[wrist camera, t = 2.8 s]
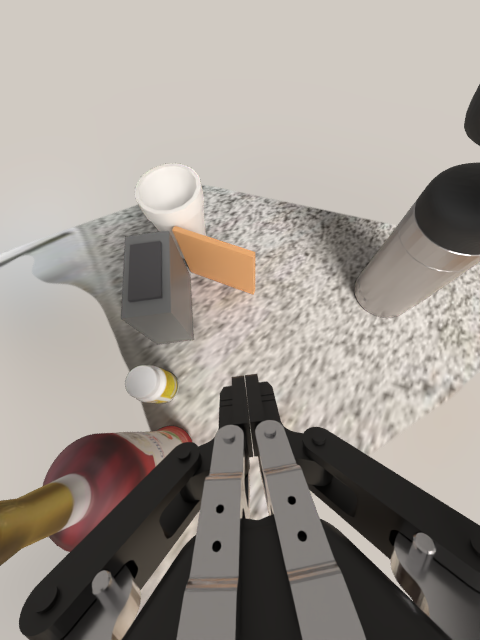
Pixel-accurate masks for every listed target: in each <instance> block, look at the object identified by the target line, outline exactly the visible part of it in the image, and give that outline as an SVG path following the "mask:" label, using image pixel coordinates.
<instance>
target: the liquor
mask: <svg viewBox="0 0 480 640" xmlns="http://www.w3.org/2000/svg"><path fill="white" fill-rule="evenodd" d="M185 442H192V440H191V438H190V437H189V435H188V434H187V433H186V432H185V431H184V430H183V429H181V428H179V427H175V426H167V427H163V428H161V429H159V430H157V431H152V432H119V433H101V434H92V435H88V436H85V437H82V438H80V439H78V440H76V441H75V442H73V443H71V444H70V445H69V446H67V447H66V448H65V449H64V450H63V451H62V452H61V453H60V454H59V455H58V457H57V458H56V459H55V460H54V462H53V464H52V465H51V467H50V469H49V470H48V472H47V475H46V477H45V480H44V482H43V486H42V487H41V488H38V489H36V490H34V491H32V492H30V493H28V494H26V495H24V496H21V497H19V498H17V499H11V500H3V501H0V566H1V565H2V564H3V563H4V562H6V561H7V560H8V559H9V558H11V557H12V556H13V555H14V554H16V553H17V552H18V551H19V550H21V549H22V548H24V547H26V546H28V545H31V544H33V543H35V542H37V541H39V540H41V539H44V538H46V537H48V536H49V538H50V539H51V540H52V541H53V542H54V543H55V544H56V545H57V546H59V547H61V548H62V549H64V550H66V551H69V552H71V551H72V550H73V549H74V548H75V547H76V546H77V545H78V544H79V543H80V542H81V541H82V540H83V539H84V538H85V537H86V536H87V535H88V534H89V533H90V532H91V531H92V530H93V529H94V528H95V527H96V526H97V525H98V524H99V523H100V522H101V521H102V520H103V519H104V518H105V517H106V516H107V515H108V514H109V513H110V512H111V511H112V510H113V509H114V508H115V507H116V506H117V505H118V504H119V503H120V502H121V501H122V500H123V499H124V498H125V497H126V496H127V495H128V494H129V493H130V492H131V491H132V490H133V489H134V488H135V487H136V486H137V485H138V484H139V483H140V482H141V481H142V480H143V479H144V478H145V477H146V476H147V475H148V474H149V473H150V472H151V471H152V470H153V469H154V468H155V467H156V466H157V465H158V464H159V463H160V462H161V461H162V460H163V459H164V458H165V457H166V456H167V455H168V454H169V453H170V452H171V451H172V450H173V449H174V448H175V447H176V446H178V445H179V444H181V443H185Z"/></svg>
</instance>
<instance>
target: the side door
mask: <svg viewBox="0 0 480 640" xmlns="http://www.w3.org/2000/svg"><path fill="white" fill-rule="evenodd" d="M172 231H173V233H174V236H175V238H176V240H177V242H178V245H179V247H180V249H181V251H182V253H183V256H184V258H185V260H186V262H187V264H188V267H189V269H190V271H191V272H192V273H195V274H198V275H201V276H203V277H206V278H209V279H212V280H214V281H217V282H220V283H223V284H225V285H228V286H231V287H234V288H236V289H239V290H242V291H245V292H247V293H250V294H254V292H255V252H253V251H250V250H247V249H244V248H241V247H238V246H235V245H232V244H229V243H226V242H223V241H220V240H216V239H213V238H210V237H207V236H204V235H201V234H198V233H195V232H192V231H189V230H186V229H183V228H180V227H177V226H174V228H173V229H172Z"/></svg>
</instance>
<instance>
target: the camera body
mask: <svg viewBox="0 0 480 640" xmlns="http://www.w3.org/2000/svg"><path fill="white" fill-rule="evenodd" d="M121 319H122V320H124V321H125V322H126V323H128V324H129V325H131V326H132V327H133V328H135V329H136V330H138V331H139V332H141V333H142V334H143V335H145V336H146V337H148V338H149V339H150V340H152V341H153V342H155V343H156V344H165V343H173V342H180V341H188V340H194V334H193V316H192V298H191V279H190V274H189V272H188V270H187V268H186V265H185V263H184V261H183V259H182V257H181V255H180V253H179V251H178V248H177V246H176V244H175V242H174V240H173V238H172V236H171V233H170V231H162V232H154V233H147V234H139V235H132V236H125V251H124V271H123V290H122V310H121Z"/></svg>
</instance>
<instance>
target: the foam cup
mask: <svg viewBox="0 0 480 640" xmlns="http://www.w3.org/2000/svg"><path fill="white" fill-rule="evenodd" d="M135 199H136V201H137V203H138V205H139V206H140V208H141V210H142V212H143V213H144V214H145V216H146V217H147V218H148V220H149V221H151V222H152V223H153V224H154V226H155V227H156V228H157V230H158V231H159V232H162V231H170V233H171V236H172V238H173V240H174V242H175V244H176V246H177V248H178V251H179V253H180V255H181V257H182V258H183V259H185V258H184V256H183V253H182V251H181V249H180V247H179V245H178V242H177V240H176V238H175V236H174V233H173V231H172V229H173V228H174V226H177V227H180V228H183V229H186V230H189V231H192V232H195V233H198V234H201V235H204V236H206V232H205V220H204V209H203V202H204V196H203V190H202V186H201V181H200V177H199V176H198V174H197V173H196V172H195V171H194V170H193V169H192V168H190V167H188V166H185V165H182V164H163V165H160V166H158V167H154V168H152V169H150V170H149V171H148V172H146V173H145V174H144V175H143V176H141V178H140V179H139V181H138V183H137V185H136V187H135Z"/></svg>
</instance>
